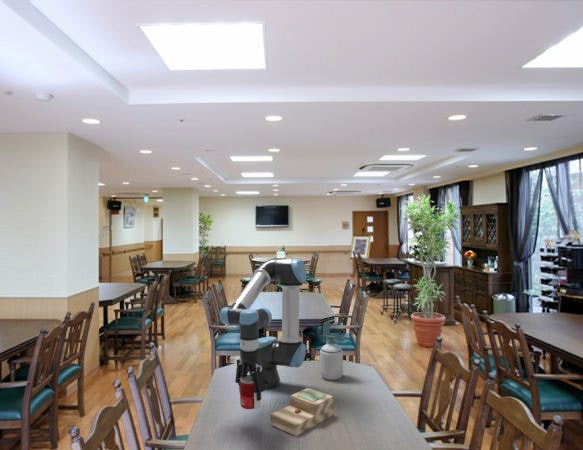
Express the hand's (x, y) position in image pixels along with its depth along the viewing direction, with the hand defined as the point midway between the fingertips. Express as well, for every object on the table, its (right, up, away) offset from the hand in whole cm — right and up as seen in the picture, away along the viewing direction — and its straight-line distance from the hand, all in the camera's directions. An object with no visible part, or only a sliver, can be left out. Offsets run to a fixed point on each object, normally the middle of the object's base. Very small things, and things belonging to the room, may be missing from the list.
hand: (250, 404), depth 163 cm
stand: (+21, -9, +5) cm, 24 cm away
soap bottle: (+38, -10, +53) cm, 66 cm away
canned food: (0, -1, 0) cm, 1 cm away
